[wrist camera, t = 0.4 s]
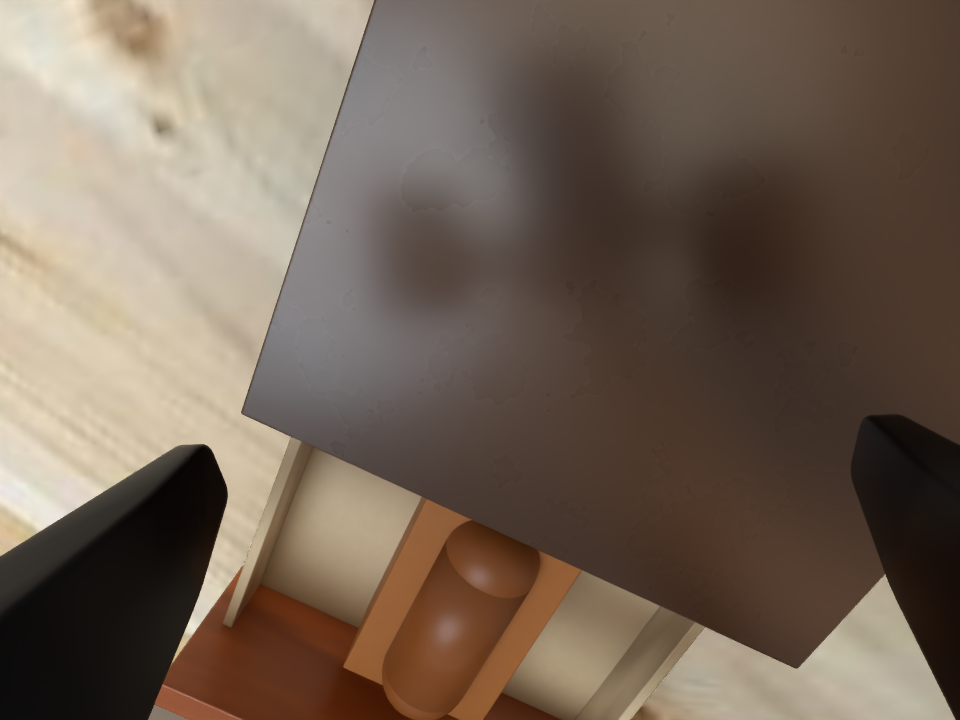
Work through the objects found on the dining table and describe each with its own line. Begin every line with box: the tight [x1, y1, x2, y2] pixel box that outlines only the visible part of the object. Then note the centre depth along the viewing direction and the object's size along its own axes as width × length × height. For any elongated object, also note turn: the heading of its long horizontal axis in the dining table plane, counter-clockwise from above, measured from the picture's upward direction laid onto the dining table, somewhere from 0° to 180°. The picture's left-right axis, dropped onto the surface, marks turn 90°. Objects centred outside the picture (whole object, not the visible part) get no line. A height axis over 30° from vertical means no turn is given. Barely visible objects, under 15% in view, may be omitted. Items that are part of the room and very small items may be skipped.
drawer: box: [155, 437, 705, 720], centre depth 24 cm, size 21×17×6 cm
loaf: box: [343, 497, 582, 720], centre depth 24 cm, size 9×6×5 cm, turn 156°
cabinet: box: [241, 0, 960, 669], centre depth 18 cm, size 17×17×7 cm
